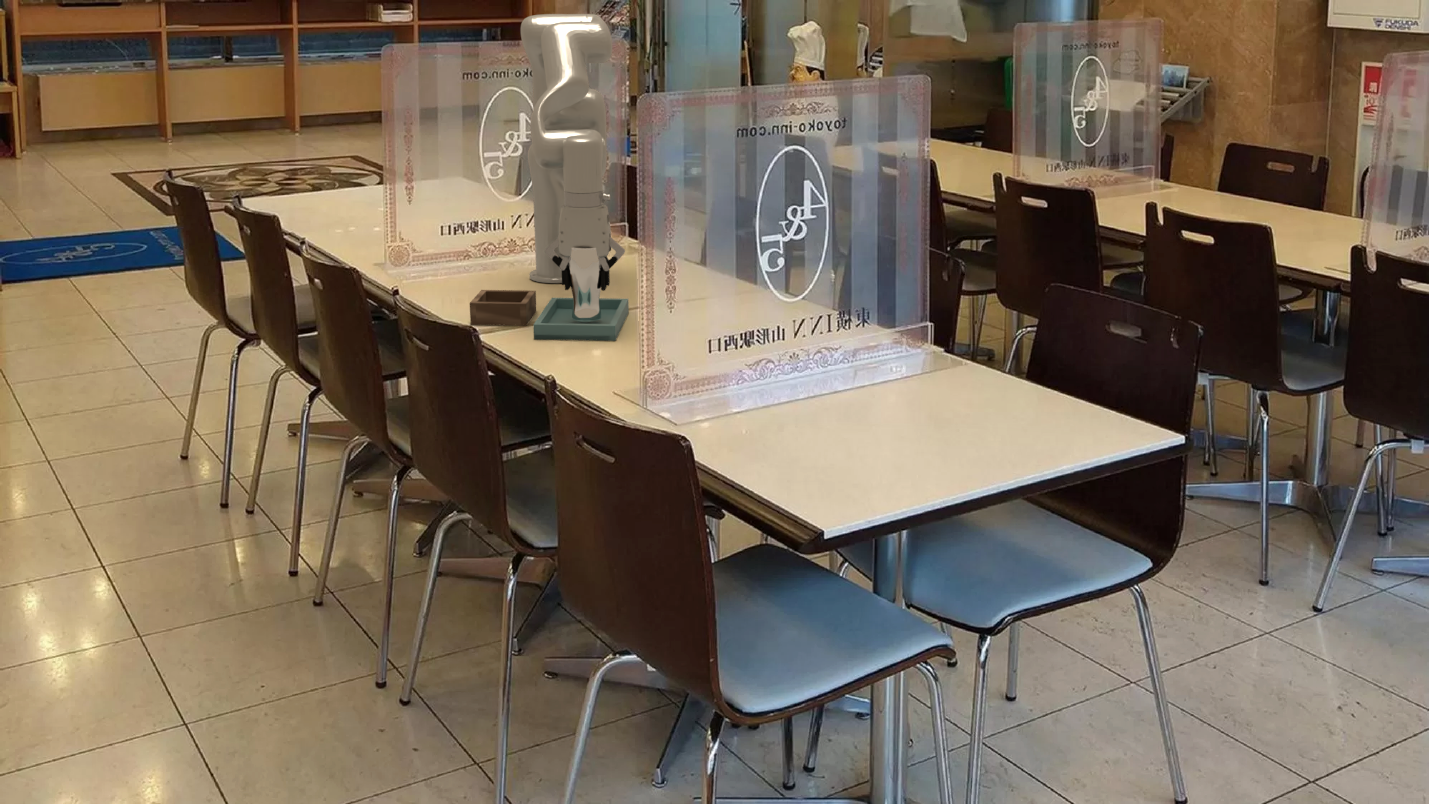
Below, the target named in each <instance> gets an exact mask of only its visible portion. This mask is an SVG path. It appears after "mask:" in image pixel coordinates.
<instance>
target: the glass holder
mask: <svg viewBox="0 0 1429 804" xmlns="http://www.w3.org/2000/svg"><path fill="white" fill-rule="evenodd" d="M475 295H476V296H474V298H473V299H472V300H471V301H470V302H469V318H470V326H521V327H522V326H523V327H525V326H528V324H529V323H530V322H531V320H533V318H534V315H536V314H537V291H536V290H525V289H524V290H523V289H521V290H520V289H517V290H515V289H514V290H513V289H511V290H506V289H481V290H480V291H479V292H478V293H477V294H475Z"/></svg>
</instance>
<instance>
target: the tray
mask: <svg viewBox="0 0 1429 804" xmlns="http://www.w3.org/2000/svg"><path fill="white" fill-rule="evenodd" d="M599 301H600V309H601V314H602V318H601V319H600V320H598V321H594V322H578V321H574V320H572V318H571V316H572V309H573V297H551V298H550V300H549V301H548V303H547V304H546V306H545V307H544V308H543V310H542V311H541V313H540V314H539V316H538V317H537V319H535V321H534V323H533V325H532V327H533V340H537V341H538V340H542V341H544V340H545V341H547V340H548V341H597V342H598V341H605V342H608V341H609V342H610V341H611V342H616V340H617V339H618V337H619V336H620V332H621V331H622V328H623V325H624V324H625V321H626V320H627V317H628V316H629V309H630V308H629V307H630V306H629V305H630V304H629V303H630V301H629V298H614V297H613V298H611V297H609V298H607V297H605V298H604V297H603V298H602V297H601V298H600V300H599Z"/></svg>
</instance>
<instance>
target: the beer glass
mask: <svg viewBox="0 0 1429 804" xmlns="http://www.w3.org/2000/svg"><path fill="white" fill-rule="evenodd" d="M601 271H602V265H601V260H600V258H599V257H598V255H597V251H596V247H594V248H575V247H571V253H570V257H569V259H568V273H569V280H570V285H571V287H570V290H571V295H572V298H573V309H572V316H571V318H572V320H574V321H578V322H594V321H598V320H600V319H601V318H602V314H601V309H600V301H599V300H600V296H601V291H602V290H601Z"/></svg>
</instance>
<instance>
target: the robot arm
mask: <svg viewBox="0 0 1429 804" xmlns="http://www.w3.org/2000/svg"><path fill="white" fill-rule="evenodd" d="M520 37H521V44H522V46H523V49H524V52H525V55H526V56H527V58H528V61H529V64H530V68H531V75H532V109H533V110H532V112H531V114H530V115H531V116H530V123H529V124H530V125H529V126H530V127H529V128H530V138H531V144H530V145H529V147H528V151H527V163H528V168H529V174H530V179H531V185H532V198H533V224H534V245H535V246H534V247H535V248H534V250H535V253H534V254H535V269H532V270H531V271H530V272H529V273H528V274H529V279H530V280H531V281H534V282H537V283H545V284H561V285H562V286H564V290H565V291H568V290H570V289H571V285H570V280H569V273H568V259H569V257H570V253H571V247H575V248H594V247H596V251H597V255H598V257H599V258H600V260H601V265H602V271H601V290H600V291H606V289H607V287H608V286H610V283H611V282H610V269H611V268H612V267H613V266H614V265H615V264H616V263H617V262H618V261H619V260H620V259H621V258H622V256H624V254H625V253H626V250H625V248H624V247H622V246H621V245H620V244H619V243H618V242H617V241H615V239H613V238H612V233H611V232H612V231H611V229H612V228H611V221H610V214H609V209H608V206H607V205H606V204H604V203H605V202H610V201H611V194H610V193H608V194H607V193H605V191H604V189H603V177H604V175H605V174H606V171H607V164H608V163H607V160H608V159H607V157H608V154H607V153H608V152H607V151H608V150H607V149H608V147H607V143H608V142H607V109H606V102H605V99H604V96H603V93H601V92H600V91H599V90H597V89H595V88H590V82H589V77H588V76H589V75H588V72H587V71H588V70H587V65H586V64H605V63H607V62H608V61H609V60H610V59H611V57H612V54H613V38H612V34H611V30H610V29H609V27H608V24H607V23H606V22H605V20H603V18H602V17H601V16H599V14H598V15H597V14H593V13H568V14H567V13H544V14H535V15H529V16H527V17H525V18H524V19H523V20H522V22H521V24H520ZM612 250H614V251H615V253H614V254H613V256H611V258H610V259H609V258H608V255H609V253H610V252H611V251H612Z"/></svg>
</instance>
